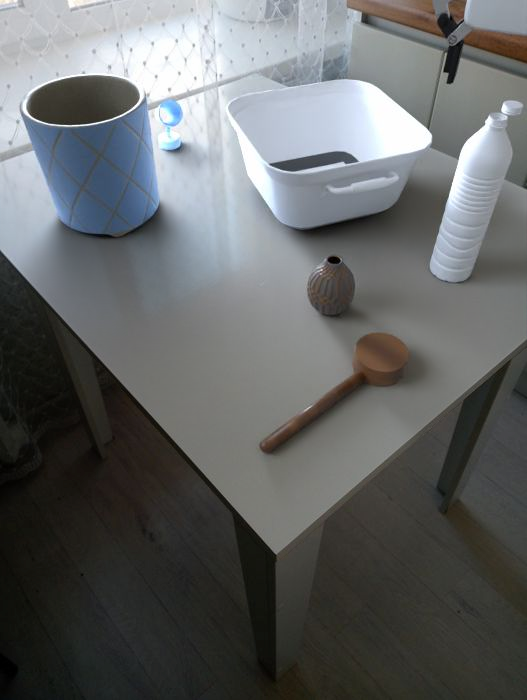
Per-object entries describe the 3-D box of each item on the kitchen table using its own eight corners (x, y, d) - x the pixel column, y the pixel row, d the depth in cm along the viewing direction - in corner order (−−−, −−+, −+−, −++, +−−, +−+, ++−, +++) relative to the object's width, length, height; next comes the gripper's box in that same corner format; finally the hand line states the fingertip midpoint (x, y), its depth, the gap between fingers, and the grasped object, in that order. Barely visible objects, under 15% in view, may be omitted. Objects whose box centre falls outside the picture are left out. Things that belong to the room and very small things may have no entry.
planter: (183, 195, 103) (169, 85, 88) (124, 253, 91) (96, 138, 76) (98, 173, 108) (72, 65, 93) (33, 225, 97) (-9, 112, 82)
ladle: (376, 339, 78) (379, 324, 76) (415, 368, 74) (419, 353, 72) (242, 434, 67) (241, 420, 65) (280, 473, 64) (281, 459, 62)
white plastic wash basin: (436, 234, 94) (458, 153, 83) (280, 271, 88) (282, 189, 77) (348, 143, 116) (356, 69, 105) (218, 167, 109) (212, 92, 99)
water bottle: (458, 289, 85) (512, 132, 66) (421, 271, 88) (462, 116, 69) (484, 262, 89) (541, 108, 71) (448, 245, 92) (494, 94, 74)
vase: (361, 305, 83) (369, 258, 76) (332, 329, 79) (338, 282, 73) (325, 284, 86) (330, 238, 79) (296, 307, 82) (298, 260, 76)
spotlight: (188, 149, 114) (175, 135, 118) (183, 101, 107) (169, 87, 111) (166, 155, 113) (153, 141, 117) (159, 106, 105) (145, 93, 109)
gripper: (653, -109, 50) (575, 84, 63) (460, -119, 55) (423, 63, 67) (660, -93, 46) (574, 112, 58) (448, -106, 50) (411, 87, 63)
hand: (493, 85), depth 63 cm, fingers open, 9 cm apart
